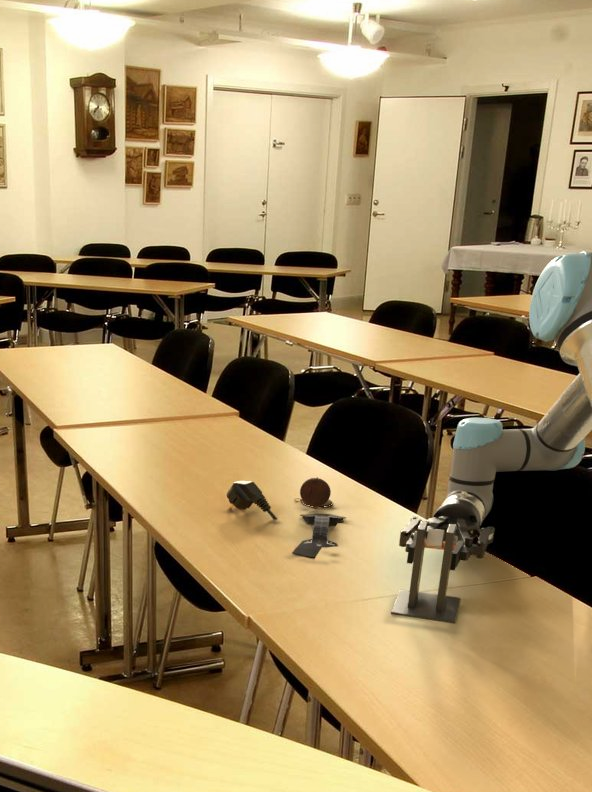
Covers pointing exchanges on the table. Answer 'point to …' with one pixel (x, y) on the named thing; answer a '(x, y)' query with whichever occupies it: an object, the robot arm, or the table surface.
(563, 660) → the table surface
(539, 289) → the robot arm
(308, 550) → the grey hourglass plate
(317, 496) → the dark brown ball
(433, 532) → the lever
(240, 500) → the power plug
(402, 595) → the stand
